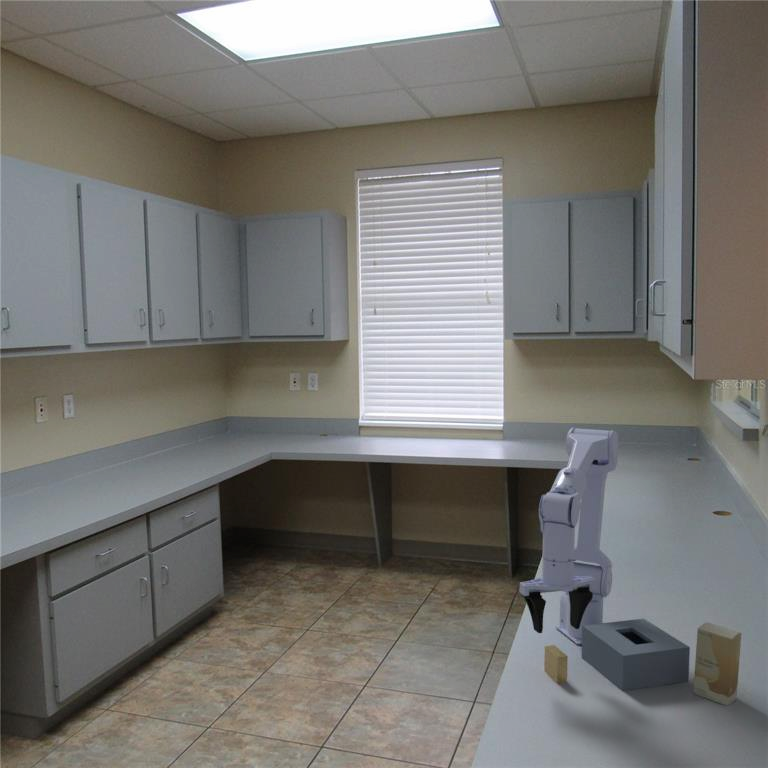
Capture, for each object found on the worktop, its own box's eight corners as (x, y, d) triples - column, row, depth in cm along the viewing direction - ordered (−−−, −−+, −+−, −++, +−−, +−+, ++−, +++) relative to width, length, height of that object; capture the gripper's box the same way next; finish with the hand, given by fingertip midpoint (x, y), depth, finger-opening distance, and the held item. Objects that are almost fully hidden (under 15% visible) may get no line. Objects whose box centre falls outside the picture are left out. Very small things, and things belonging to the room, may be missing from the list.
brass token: (544, 671, 140) (544, 646, 140) (553, 670, 141) (554, 644, 140) (557, 683, 135) (557, 657, 135) (566, 682, 136) (567, 656, 136)
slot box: (581, 657, 146) (582, 625, 146) (642, 649, 150) (643, 618, 149) (622, 690, 133) (623, 655, 132) (688, 681, 136) (689, 647, 136)
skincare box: (692, 694, 132) (695, 627, 131) (702, 685, 135) (705, 620, 134) (729, 707, 127) (732, 638, 126) (739, 698, 130) (742, 631, 129)
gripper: (532, 567, 131) (530, 641, 132) (604, 561, 134) (602, 633, 135) (515, 555, 137) (513, 626, 138) (584, 549, 141) (582, 619, 142)
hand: (556, 629), depth 137 cm, fingers open, 7 cm apart
